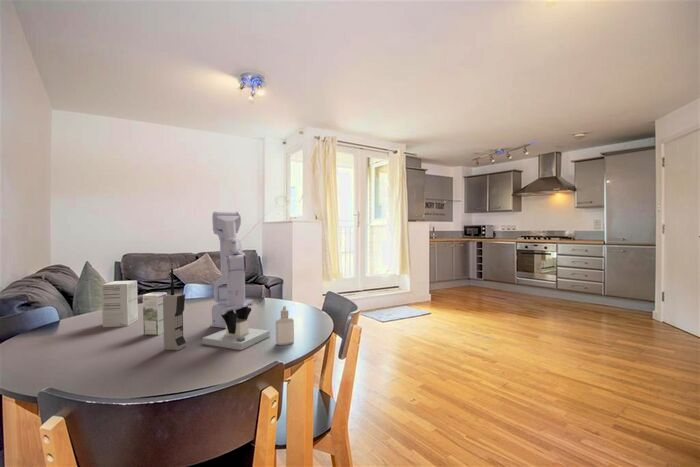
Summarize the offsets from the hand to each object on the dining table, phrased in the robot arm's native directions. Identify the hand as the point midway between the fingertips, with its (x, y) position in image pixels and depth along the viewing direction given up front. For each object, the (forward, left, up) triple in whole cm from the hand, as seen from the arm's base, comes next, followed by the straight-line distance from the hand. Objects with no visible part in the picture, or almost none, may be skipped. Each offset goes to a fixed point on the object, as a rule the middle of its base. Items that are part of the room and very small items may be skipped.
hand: (236, 331), depth 111 cm
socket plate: (0, 0, -3) cm, 3 cm away
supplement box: (-60, 0, -3) cm, 60 cm away
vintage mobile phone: (-13, -13, -3) cm, 19 cm away
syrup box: (-34, -4, -3) cm, 34 cm away
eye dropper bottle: (+17, +3, -3) cm, 18 cm away
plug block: (0, 0, -2) cm, 2 cm away
